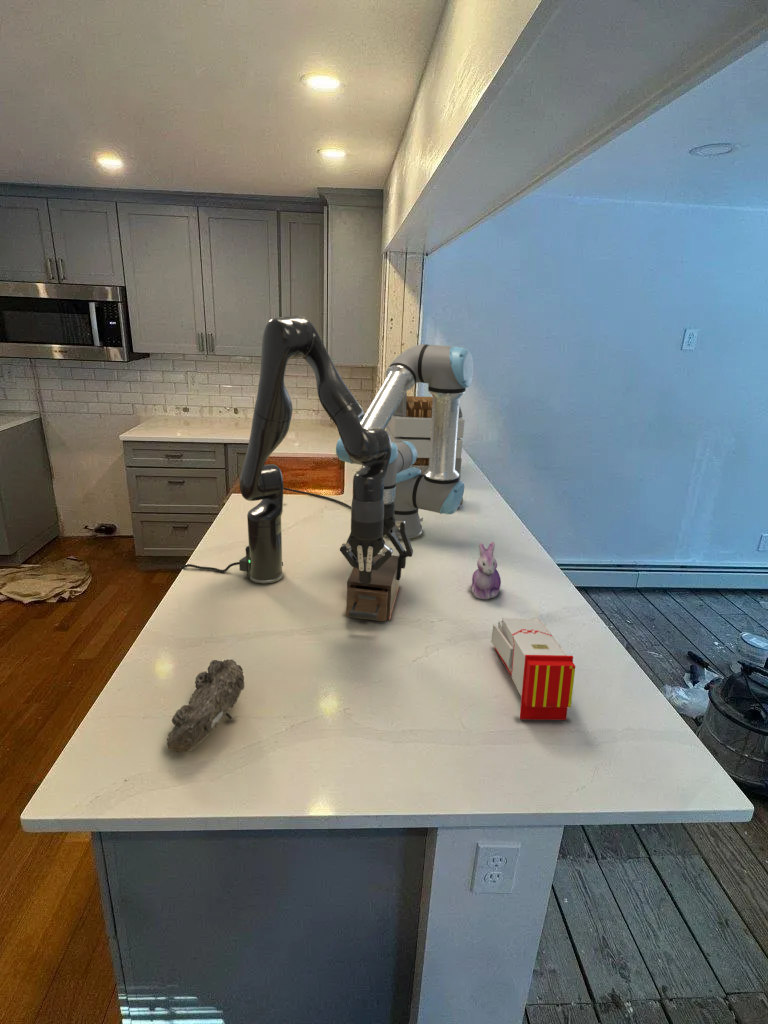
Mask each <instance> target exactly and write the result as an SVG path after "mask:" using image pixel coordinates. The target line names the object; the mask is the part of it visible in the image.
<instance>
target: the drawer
mask: <svg viewBox="0 0 768 1024" xmlns="http://www.w3.org/2000/svg"><path fill="white" fill-rule="evenodd" d="M387 601H388V592H387V589H384V588H375V587H366V586H356V585H353V588H350V587H348V589H347V588H346V609H347V611H346V612H347V615H346V618H354V619H360V620H361V619H362V620H363V619H364V620H371V621H379V622H387V620H386V619H387Z"/></svg>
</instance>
